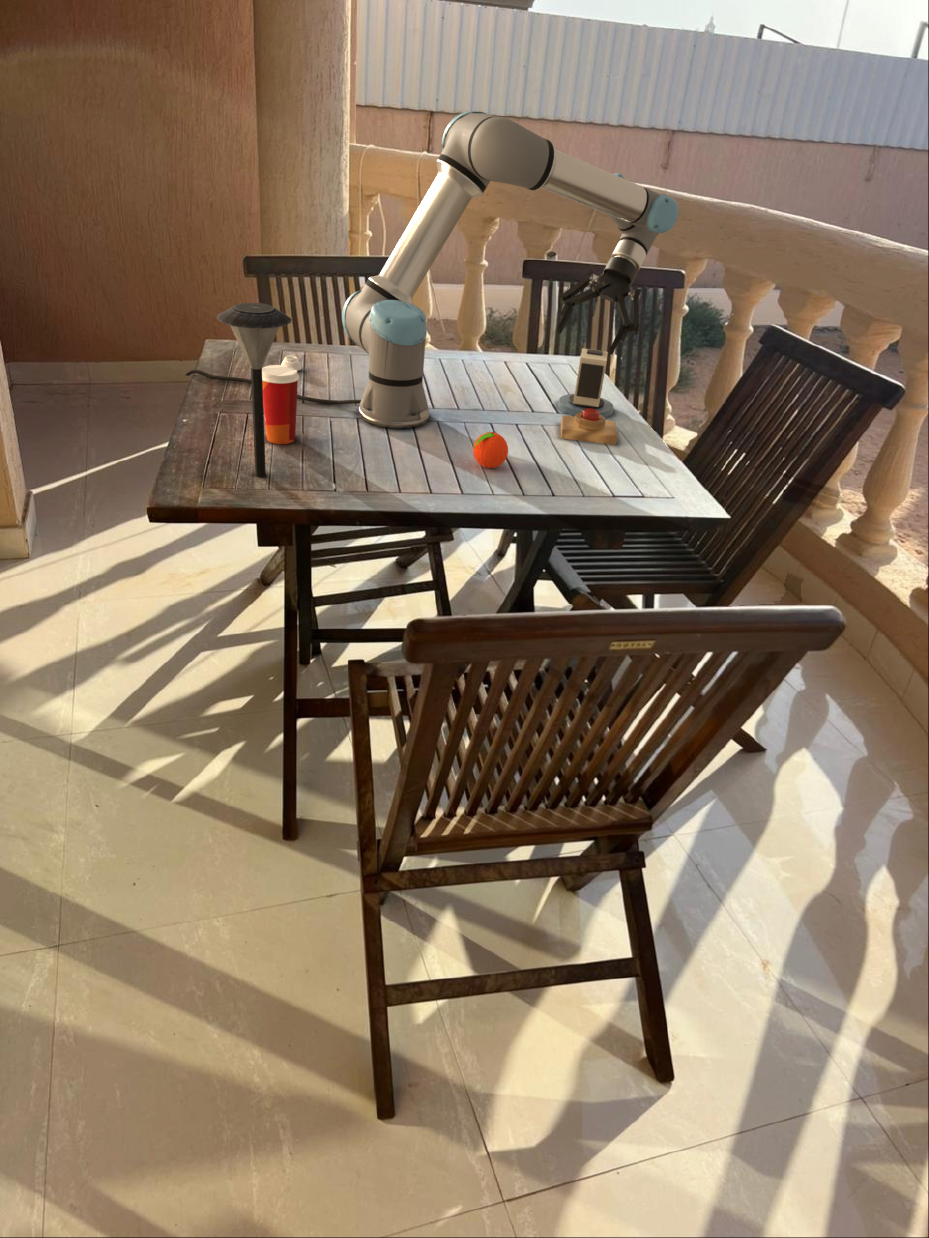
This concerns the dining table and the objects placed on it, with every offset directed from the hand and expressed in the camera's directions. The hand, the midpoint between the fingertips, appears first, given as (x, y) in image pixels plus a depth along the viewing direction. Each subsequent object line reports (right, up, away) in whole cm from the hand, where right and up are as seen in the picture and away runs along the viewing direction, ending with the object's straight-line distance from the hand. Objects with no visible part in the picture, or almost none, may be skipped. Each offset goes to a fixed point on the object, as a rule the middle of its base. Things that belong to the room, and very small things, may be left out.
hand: (584, 341), depth 208 cm
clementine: (-24, -36, -34) cm, 55 cm away
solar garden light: (-66, -40, -47) cm, 90 cm away
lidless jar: (-71, -5, +6) cm, 71 cm away
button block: (-1, -25, -14) cm, 29 cm away
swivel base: (0, -16, +1) cm, 16 cm away
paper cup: (-66, -30, -32) cm, 79 cm away
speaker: (0, -14, 0) cm, 14 cm away
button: (-1, -22, -16) cm, 27 cm away
